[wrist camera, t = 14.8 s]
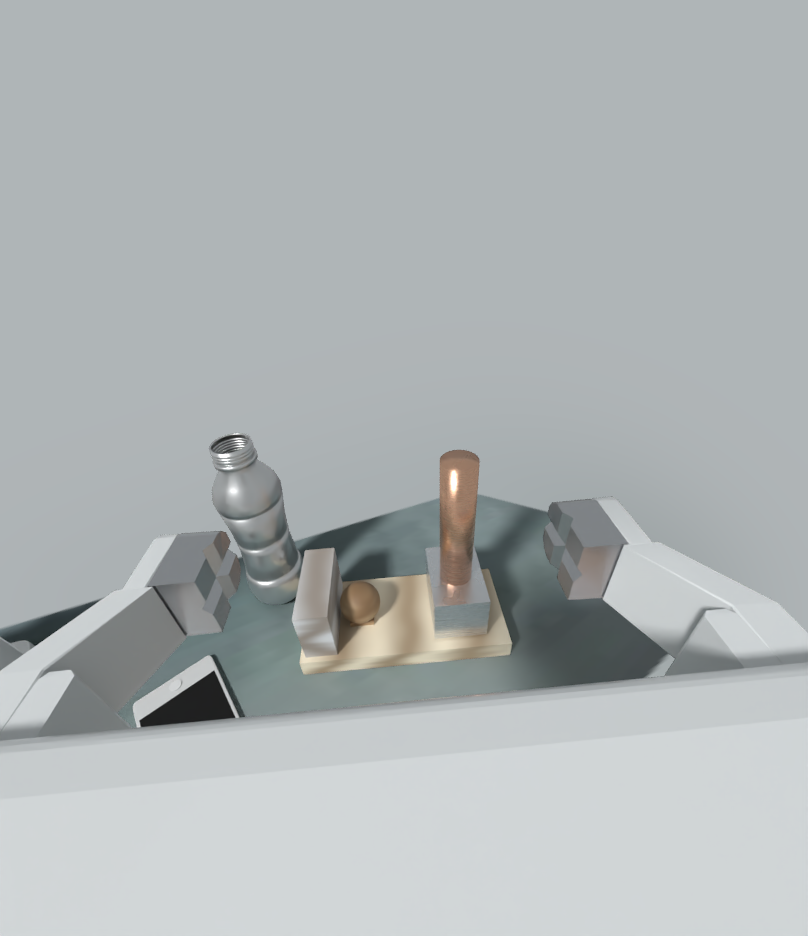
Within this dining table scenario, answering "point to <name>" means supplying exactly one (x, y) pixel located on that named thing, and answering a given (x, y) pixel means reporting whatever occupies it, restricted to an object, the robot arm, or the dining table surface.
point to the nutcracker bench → (380, 623)
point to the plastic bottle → (256, 518)
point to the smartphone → (187, 698)
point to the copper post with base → (457, 553)
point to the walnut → (360, 603)
